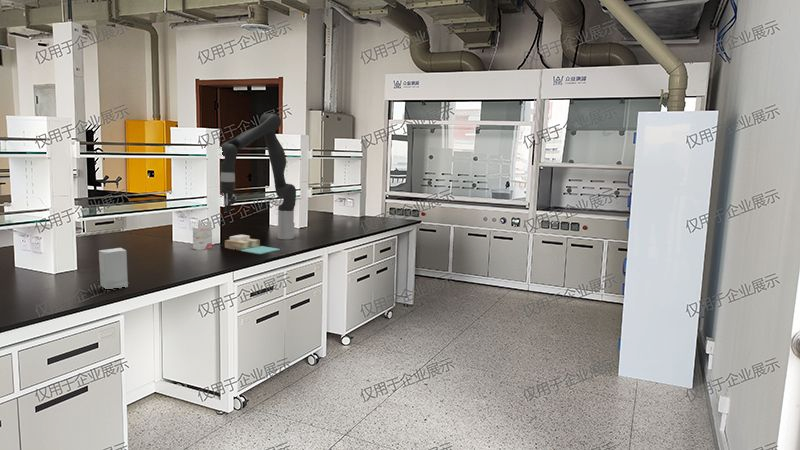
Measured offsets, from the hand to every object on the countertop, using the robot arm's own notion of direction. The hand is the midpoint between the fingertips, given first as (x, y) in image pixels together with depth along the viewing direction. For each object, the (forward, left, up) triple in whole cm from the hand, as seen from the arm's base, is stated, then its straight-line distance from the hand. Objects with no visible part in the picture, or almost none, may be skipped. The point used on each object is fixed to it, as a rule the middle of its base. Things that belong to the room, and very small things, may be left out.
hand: (227, 212), depth 305 cm
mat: (0, +24, -18) cm, 30 cm away
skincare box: (+92, +32, -18) cm, 99 cm away
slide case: (0, +9, -14) cm, 17 cm away
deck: (0, +11, -18) cm, 21 cm away
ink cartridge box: (+16, -2, -18) cm, 25 cm away
